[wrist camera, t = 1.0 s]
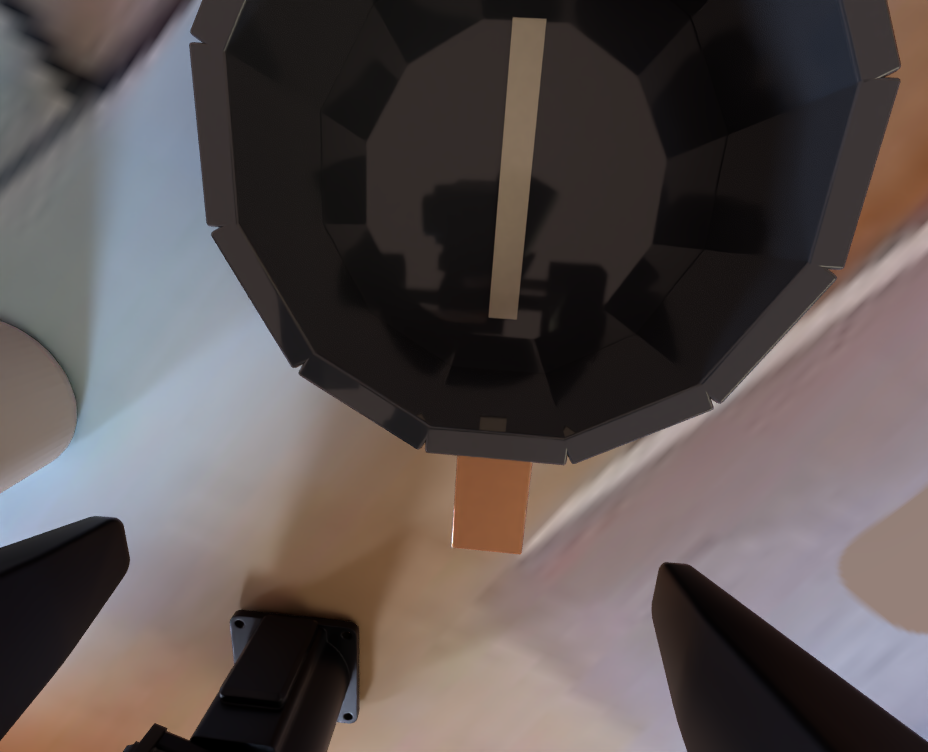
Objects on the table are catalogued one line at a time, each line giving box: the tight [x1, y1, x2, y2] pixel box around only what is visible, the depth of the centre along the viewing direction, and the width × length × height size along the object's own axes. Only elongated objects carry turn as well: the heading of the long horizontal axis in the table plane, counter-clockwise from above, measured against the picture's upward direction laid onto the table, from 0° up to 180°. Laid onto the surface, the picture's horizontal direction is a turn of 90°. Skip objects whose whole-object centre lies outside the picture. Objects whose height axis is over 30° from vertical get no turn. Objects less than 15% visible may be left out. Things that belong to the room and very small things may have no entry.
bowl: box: [189, 0, 901, 554], centre depth 14 cm, size 17×14×6 cm
